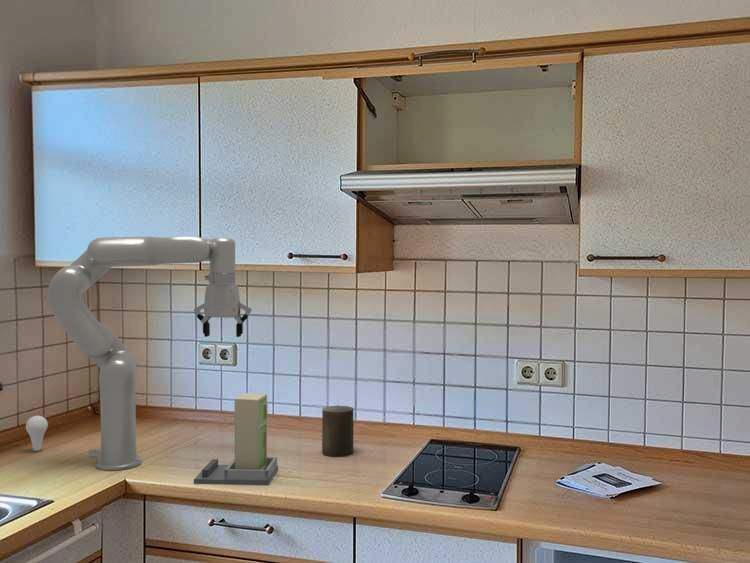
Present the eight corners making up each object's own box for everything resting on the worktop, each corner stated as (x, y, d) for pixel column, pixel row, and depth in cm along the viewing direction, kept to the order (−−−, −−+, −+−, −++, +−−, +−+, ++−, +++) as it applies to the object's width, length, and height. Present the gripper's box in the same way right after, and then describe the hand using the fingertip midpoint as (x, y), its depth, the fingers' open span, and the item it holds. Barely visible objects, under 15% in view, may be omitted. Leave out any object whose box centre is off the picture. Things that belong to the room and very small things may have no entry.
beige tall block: (260, 477, 186) (259, 399, 185) (234, 475, 187) (233, 398, 186) (269, 468, 194) (269, 393, 193) (244, 467, 195) (244, 392, 194)
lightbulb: (49, 447, 219) (48, 413, 218) (46, 452, 213) (46, 417, 213) (27, 449, 217) (27, 414, 217) (24, 454, 211) (24, 418, 211)
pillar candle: (350, 457, 208) (350, 407, 208) (318, 456, 210) (319, 406, 209) (356, 449, 218) (356, 401, 218) (325, 447, 219) (325, 400, 219)
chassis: (193, 483, 184) (193, 469, 184) (208, 468, 198) (208, 455, 197) (268, 485, 183) (268, 471, 183) (278, 469, 196) (278, 456, 196)
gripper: (190, 279, 205) (190, 337, 205) (248, 279, 204) (248, 338, 204) (197, 278, 212) (198, 334, 213) (253, 279, 211) (254, 335, 212)
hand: (222, 336), depth 209 cm, fingers open, 9 cm apart
